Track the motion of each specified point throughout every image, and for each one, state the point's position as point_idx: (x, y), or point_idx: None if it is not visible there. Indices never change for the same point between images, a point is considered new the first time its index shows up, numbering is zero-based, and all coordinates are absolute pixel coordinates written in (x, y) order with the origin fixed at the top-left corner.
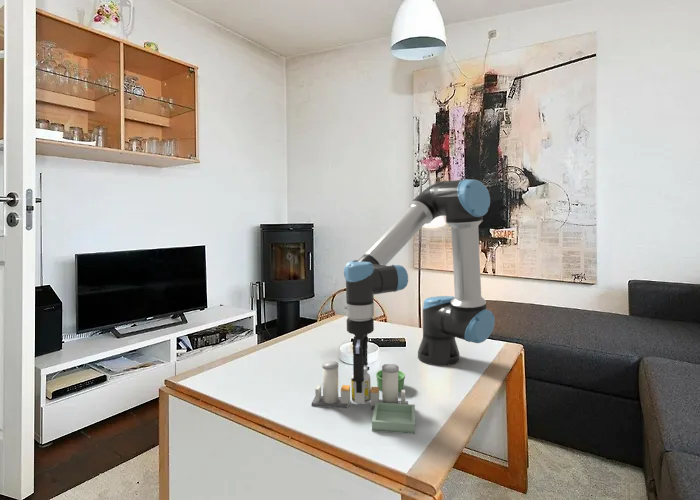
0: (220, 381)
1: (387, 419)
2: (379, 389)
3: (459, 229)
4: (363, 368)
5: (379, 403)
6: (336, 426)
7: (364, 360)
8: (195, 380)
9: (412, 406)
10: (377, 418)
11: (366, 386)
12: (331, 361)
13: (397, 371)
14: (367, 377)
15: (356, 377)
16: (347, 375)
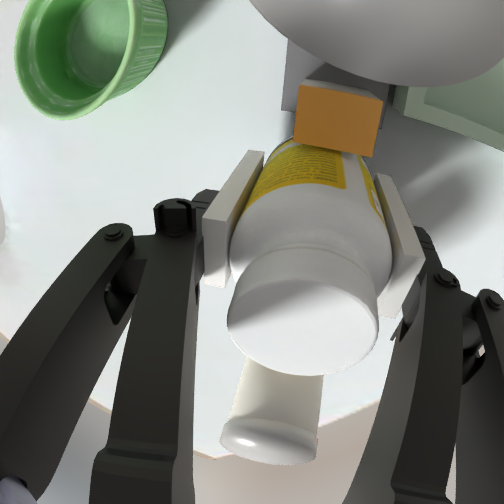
0: (198, 435)
1: (497, 78)
2: (140, 82)
3: None
4: (451, 355)
5: (420, 96)
6: (477, 277)
7: (188, 324)
8: (203, 449)
9: None
10: (485, 121)
11: (376, 200)
12: (228, 443)
13: None
14: (369, 227)
15: (477, 350)
16: (59, 224)
